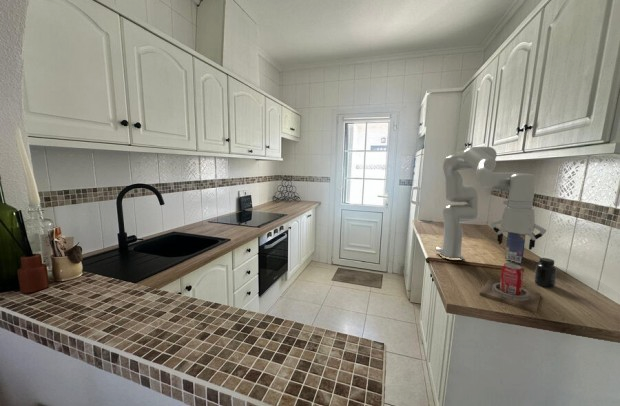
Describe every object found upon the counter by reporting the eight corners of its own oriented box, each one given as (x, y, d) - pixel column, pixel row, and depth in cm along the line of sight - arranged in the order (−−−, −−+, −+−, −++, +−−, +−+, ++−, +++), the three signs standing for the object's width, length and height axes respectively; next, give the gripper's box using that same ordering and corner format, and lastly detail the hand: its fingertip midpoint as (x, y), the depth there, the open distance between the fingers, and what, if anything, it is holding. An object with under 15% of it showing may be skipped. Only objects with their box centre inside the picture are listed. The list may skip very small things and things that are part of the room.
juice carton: (522, 263, 137) (527, 220, 133) (505, 260, 142) (509, 219, 138) (522, 256, 146) (526, 216, 142) (506, 254, 151) (510, 215, 147)
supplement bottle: (548, 282, 116) (551, 257, 114) (558, 289, 109) (562, 263, 107) (530, 280, 118) (533, 256, 116) (539, 287, 111) (542, 262, 109)
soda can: (512, 288, 108) (515, 262, 106) (525, 297, 101) (528, 269, 99) (495, 288, 109) (498, 262, 107) (506, 296, 102) (509, 268, 100)
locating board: (479, 294, 106) (480, 288, 106) (489, 282, 117) (489, 276, 117) (536, 312, 93) (536, 305, 93) (540, 296, 104) (541, 290, 104)
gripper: (491, 203, 103) (487, 243, 106) (548, 208, 90) (542, 253, 93) (495, 201, 108) (491, 239, 111) (550, 206, 95) (544, 248, 98)
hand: (514, 245), depth 102 cm, fingers open, 9 cm apart
